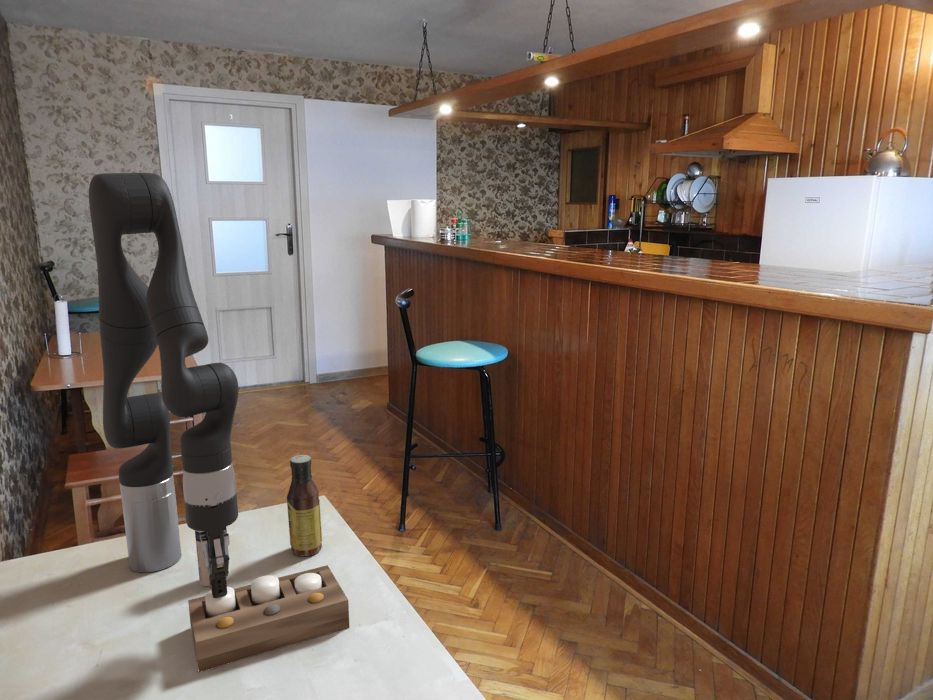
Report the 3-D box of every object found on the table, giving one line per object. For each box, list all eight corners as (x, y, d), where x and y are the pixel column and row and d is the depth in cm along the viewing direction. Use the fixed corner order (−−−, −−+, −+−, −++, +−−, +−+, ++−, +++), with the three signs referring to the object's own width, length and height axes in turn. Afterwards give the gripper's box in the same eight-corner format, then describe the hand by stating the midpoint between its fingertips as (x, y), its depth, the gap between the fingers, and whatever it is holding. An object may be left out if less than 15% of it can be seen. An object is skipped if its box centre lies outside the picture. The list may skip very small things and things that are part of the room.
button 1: (205, 607, 106) (203, 591, 105) (233, 600, 108) (232, 583, 107) (208, 622, 102) (206, 605, 101) (237, 614, 104) (236, 597, 103)
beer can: (217, 589, 118) (212, 528, 115) (193, 586, 119) (187, 525, 116) (232, 575, 122) (227, 516, 120) (209, 572, 123) (203, 513, 121)
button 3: (292, 592, 112) (291, 576, 112) (318, 586, 114) (317, 570, 114) (299, 606, 108) (298, 589, 108) (325, 598, 110) (324, 582, 110)
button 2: (250, 596, 109) (248, 579, 108) (276, 589, 111) (275, 573, 110) (254, 609, 105) (253, 593, 104) (282, 602, 107) (281, 585, 106)
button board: (190, 627, 107) (188, 598, 106) (328, 590, 117) (327, 563, 116) (198, 672, 97) (195, 640, 95) (349, 627, 107) (348, 598, 106)
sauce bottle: (298, 541, 135) (292, 450, 131) (327, 543, 134) (322, 451, 130) (285, 558, 129) (278, 462, 124) (315, 560, 128) (310, 464, 124)
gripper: (180, 482, 105) (190, 581, 108) (187, 515, 93) (198, 624, 97) (229, 473, 108) (237, 569, 111) (242, 504, 96) (251, 610, 100)
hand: (219, 594), depth 104 cm, fingers closed
